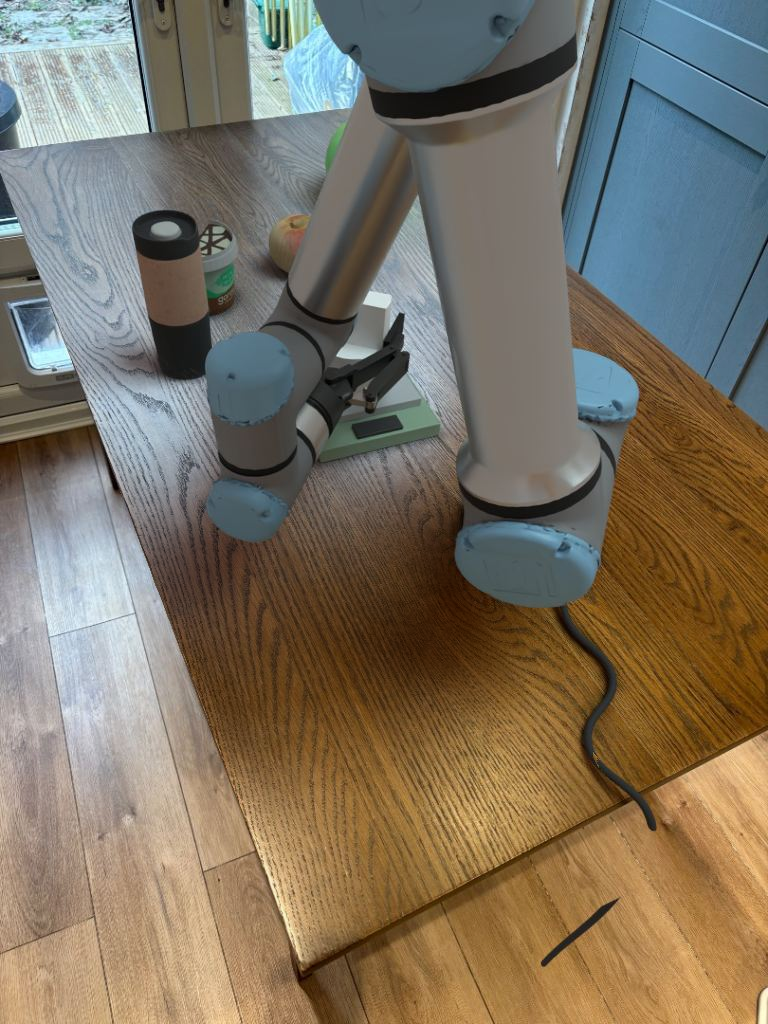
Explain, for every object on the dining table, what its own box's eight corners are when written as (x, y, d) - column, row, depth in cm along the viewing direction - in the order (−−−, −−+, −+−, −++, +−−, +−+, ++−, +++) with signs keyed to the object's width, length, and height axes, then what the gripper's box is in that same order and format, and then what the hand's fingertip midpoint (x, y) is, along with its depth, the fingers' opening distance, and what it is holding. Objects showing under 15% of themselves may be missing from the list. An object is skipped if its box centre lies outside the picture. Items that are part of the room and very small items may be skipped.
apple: (328, 257, 123) (329, 210, 117) (319, 286, 117) (320, 238, 111) (275, 251, 123) (273, 203, 117) (264, 279, 117) (262, 231, 111)
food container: (226, 329, 108) (219, 266, 101) (185, 321, 109) (176, 258, 101) (253, 284, 116) (249, 223, 109) (215, 277, 117) (208, 216, 109)
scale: (438, 435, 96) (442, 416, 94) (321, 463, 91) (321, 444, 89) (380, 345, 108) (381, 326, 106) (273, 365, 103) (272, 346, 101)
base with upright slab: (307, 389, 95) (306, 308, 86) (327, 348, 101) (328, 268, 92) (375, 403, 94) (381, 323, 86) (392, 362, 100) (399, 282, 91)
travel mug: (153, 351, 104) (126, 212, 89) (208, 342, 106) (191, 205, 91) (163, 385, 99) (135, 245, 84) (220, 375, 101) (204, 237, 86)
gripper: (209, 422, 86) (285, 318, 100) (391, 473, 82) (442, 357, 97) (202, 370, 80) (283, 267, 95) (397, 421, 77) (450, 307, 91)
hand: (364, 313), depth 96 cm, fingers open, 9 cm apart
